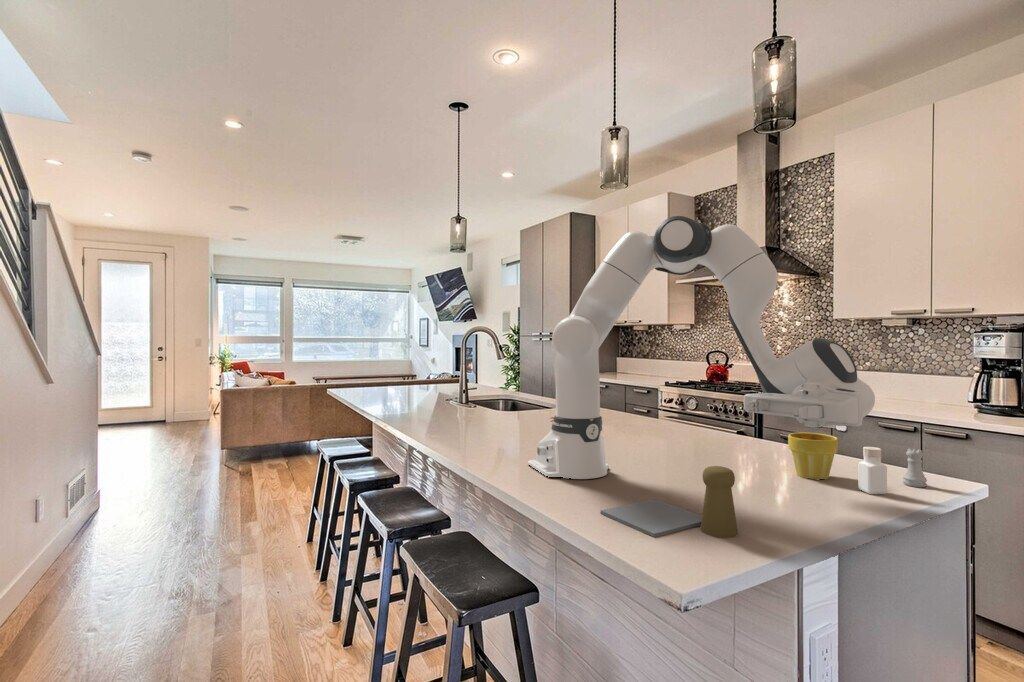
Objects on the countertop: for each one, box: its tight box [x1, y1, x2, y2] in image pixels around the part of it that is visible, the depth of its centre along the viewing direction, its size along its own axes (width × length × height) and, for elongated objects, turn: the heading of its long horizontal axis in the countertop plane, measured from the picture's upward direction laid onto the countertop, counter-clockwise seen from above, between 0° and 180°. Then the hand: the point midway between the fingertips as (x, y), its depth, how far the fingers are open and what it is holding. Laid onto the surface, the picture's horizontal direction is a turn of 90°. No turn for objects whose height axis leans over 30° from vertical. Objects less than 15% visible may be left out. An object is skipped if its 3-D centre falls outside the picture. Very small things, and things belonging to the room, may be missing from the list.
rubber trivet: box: [600, 498, 702, 538], centre depth 96 cm, size 14×14×1 cm
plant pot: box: [787, 431, 839, 480], centre depth 124 cm, size 10×10×10 cm
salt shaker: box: [857, 446, 888, 495], centre depth 111 cm, size 4×4×10 cm
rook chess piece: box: [902, 448, 928, 489], centre depth 116 cm, size 4×4×8 cm
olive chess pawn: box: [700, 465, 739, 539], centre depth 89 cm, size 6×6×11 cm
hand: (772, 409), depth 96 cm, fingers open, 8 cm apart
